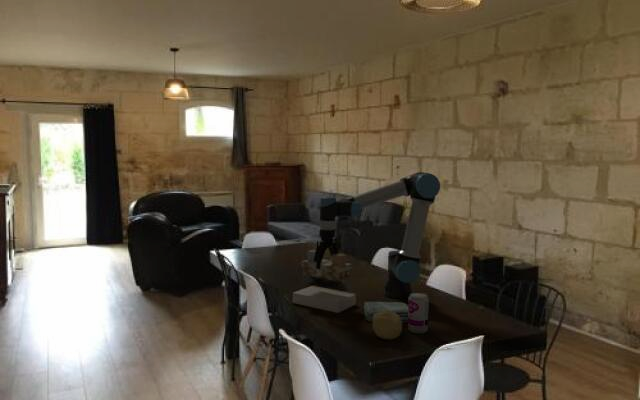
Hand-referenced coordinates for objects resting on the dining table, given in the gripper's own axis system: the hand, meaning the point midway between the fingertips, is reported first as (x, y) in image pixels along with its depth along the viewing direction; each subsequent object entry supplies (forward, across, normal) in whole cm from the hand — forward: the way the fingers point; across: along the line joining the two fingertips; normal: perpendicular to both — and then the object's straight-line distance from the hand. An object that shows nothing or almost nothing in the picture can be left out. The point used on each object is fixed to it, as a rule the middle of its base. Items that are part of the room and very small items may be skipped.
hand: (326, 273), depth 250 cm
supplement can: (+14, +9, +53) cm, 55 cm away
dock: (+14, +2, +1) cm, 15 cm away
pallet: (+1, 0, 0) cm, 1 cm away
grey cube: (-5, 0, -7) cm, 9 cm away
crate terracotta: (-5, 0, +7) cm, 9 cm away
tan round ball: (+15, +23, +46) cm, 53 cm away
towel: (+15, -1, +33) cm, 37 cm away
